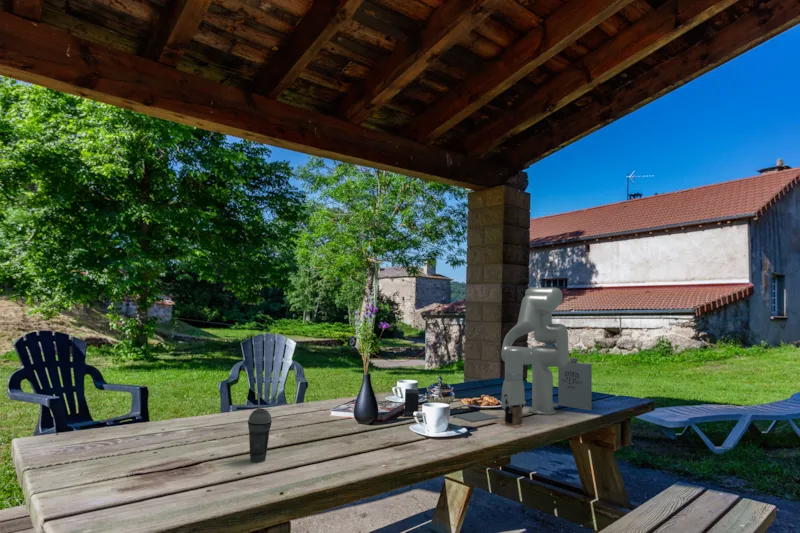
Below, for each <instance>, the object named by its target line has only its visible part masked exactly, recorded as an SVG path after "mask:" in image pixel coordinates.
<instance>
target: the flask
mask: <svg viewBox="0 0 800 533" xmlns="http://www.w3.org/2000/svg"><path fill="white" fill-rule="evenodd" d="M578 360H579V359H578V357H570V358H568V363H567V365H566V366H565V367H557V371H558V372H557V374H558V375H557V379H558V380H557V384H558V385H557V390H558V391H557V393H558V394H557V395H558V396H557V398H558V399H557V401H558V402H557V404H558V406H564V407H568V408H574V409H580V410H586V411H591V410H592V408H593V406H592V403H593V402H592V400H593V398H592V395H593V392H592V388H593V387H592V386H593V384H592V383H593V382H592V374H593V372H592V369H593V368H592V363H587V362H586V363H585V362H578Z"/></svg>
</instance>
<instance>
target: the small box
mask: <svg viewBox="0 0 800 533" xmlns="http://www.w3.org/2000/svg"><path fill="white" fill-rule="evenodd" d="M419 395H420V391H419V389H413V388H405V391H404V410H403V411H404V412H403V413H404V414H403V416H404V417H414V416H413V412H414V411H418V412H419V407H420V406H419V403H420V396H419Z"/></svg>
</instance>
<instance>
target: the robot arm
mask: <svg viewBox="0 0 800 533" xmlns="http://www.w3.org/2000/svg"><path fill="white" fill-rule="evenodd" d="M524 294H525V295H524V296H523V298H522V300H521V305H520V308H519V315H518V319H517V323H516V324H515V325H514V326H513V327H512V328H511V329H510V330H509V331H508V332H507V333H506V335H505V336H504V339H503V342H502V346H501V347H502V348H501V352H500V353H501V354H500V357H501V359H502V361H503V362H504V380H503V384H502V388H501V397H500V399H501V404H500V407H501V408H502V409H503V411H504V413H505V412H506V422H508V423H512V413H511V412H512V406H515V405H516V406H521V407H522V410H524V407H525V405H526V404H527V402H526V400H525V397H526V396H525V385H524V384H525V383H524V366H528V365H531V372H532V373H531V377H532V380H531V384H532V385H531V386H532V387H531V388H532V389H531V394H532V395H531V399H532V400H531V401H532V402H531V407H529V408H528V412H529V413H532V414H535V415H545V416H546V415H547V416H549V415H556V414H557V410H556V409H554V408H557V407H558V406H559V405H558V402H554V400H553V398H554V397H553V396H554V393H553V392H554V391H553V390H554V376H553V372H552V371H551V369H550V368H549V367H554V368H555V367H556V368H558V367H565V366H566V365H567V363H568V362H569V360H568V359H569V330H568V328H567V326H566V325H565V324H564V323H563V324H562V323H553V317H552V316H553V314H552V313H553V312H554V311H555V310H557V308H558V307H559V306H561V304H562V300H563V292H562V290H561V289H560V288H559V287H529V288H527V289H526V290H525V293H524ZM532 332H533V337H534V340H535V341H536V342H538V343H542V344H543V343H544V344H554V345H556V346H553V345H535V346H533V347H532V348H530V347H525V346H516V345H513V344H514V342H515V341H516V340H517V339H519V338H520V337H522V336H524V335H528V334H530V333H532ZM508 406H509V408H508Z"/></svg>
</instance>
